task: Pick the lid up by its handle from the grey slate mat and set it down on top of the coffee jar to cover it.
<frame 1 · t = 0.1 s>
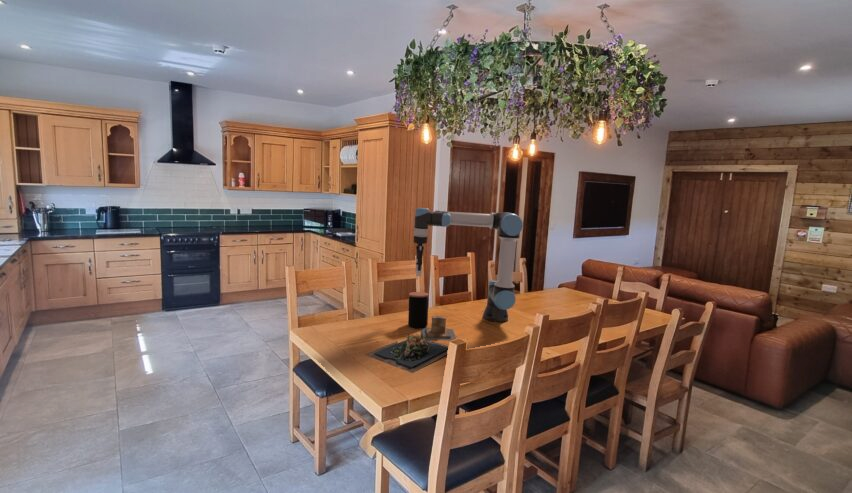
hand: (418, 273, 247), 28 cm above the table, tool pointing down, fingers open, 13 cm apart
mat: (437, 335, 232), on the table
coffee jar: (417, 326, 243), on the table, touching mat
plated dish: (412, 352, 206), on the table, touching mat
lid: (437, 334, 232), point 1 cm above the table, touching mat
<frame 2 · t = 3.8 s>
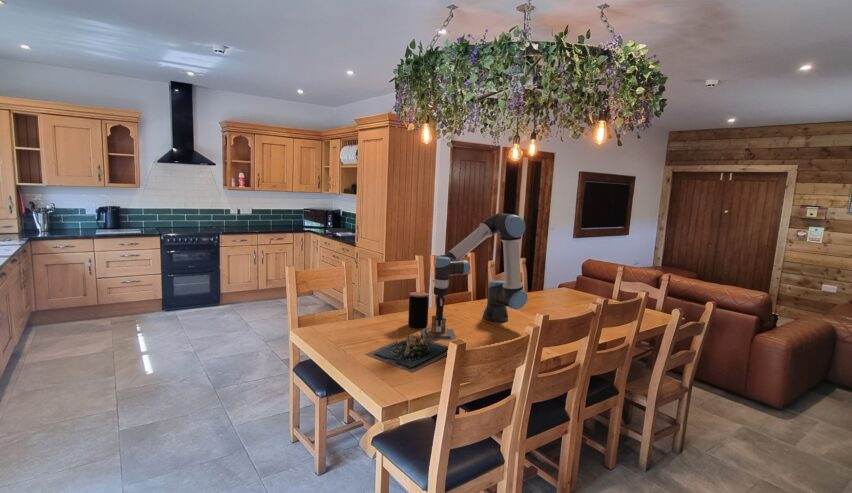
hand: (438, 330, 232), 3 cm above the table, tool pointing down, fingers closed on lid, 3 cm apart
lid: (437, 334, 232), point 1 cm above the table, touching gripper, mat
everything else where it was.
when the fingers open (22 cm above the table, at t = 7.6 s): lid drops 1 cm, resting on coffee jar.
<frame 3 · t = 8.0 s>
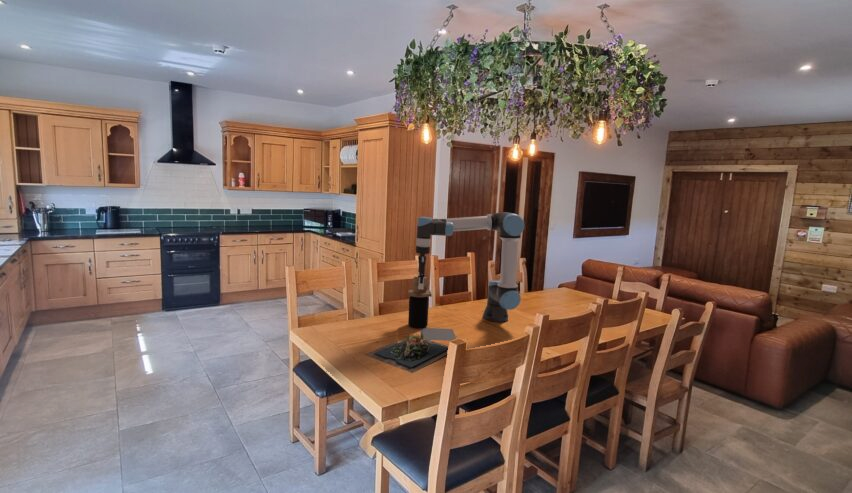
hand: (420, 286, 240), 23 cm above the table, tool pointing down, fingers open, 9 cm apart
coffee jar: (417, 326, 243), on the table, touching lid, mat
lid: (419, 294, 240), point 18 cm above the table, touching coffee jar
everything else where it was.
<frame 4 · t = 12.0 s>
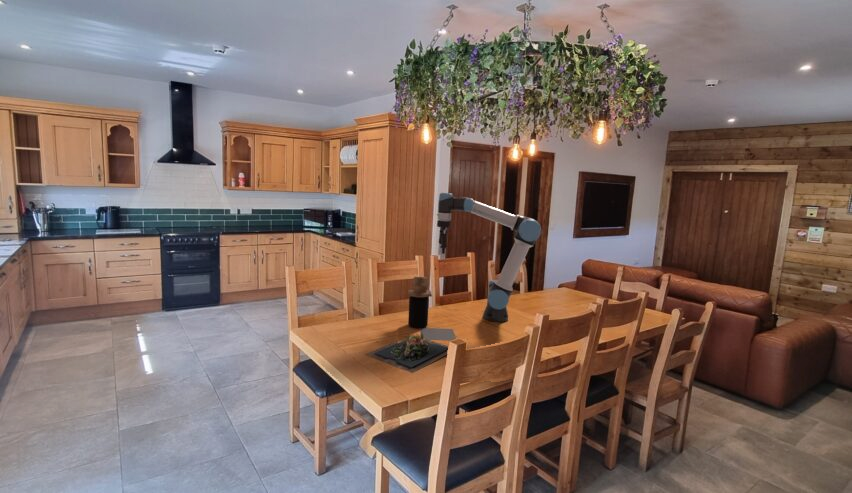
hand: (441, 257, 254), 37 cm above the table, tool pointing down, fingers open, 13 cm apart
nothing on the table moved.
at the end: lid 0.1 cm from the coffee jar (horizontally); lid point 18.4 cm above the table; the gripper is holding nothing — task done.
